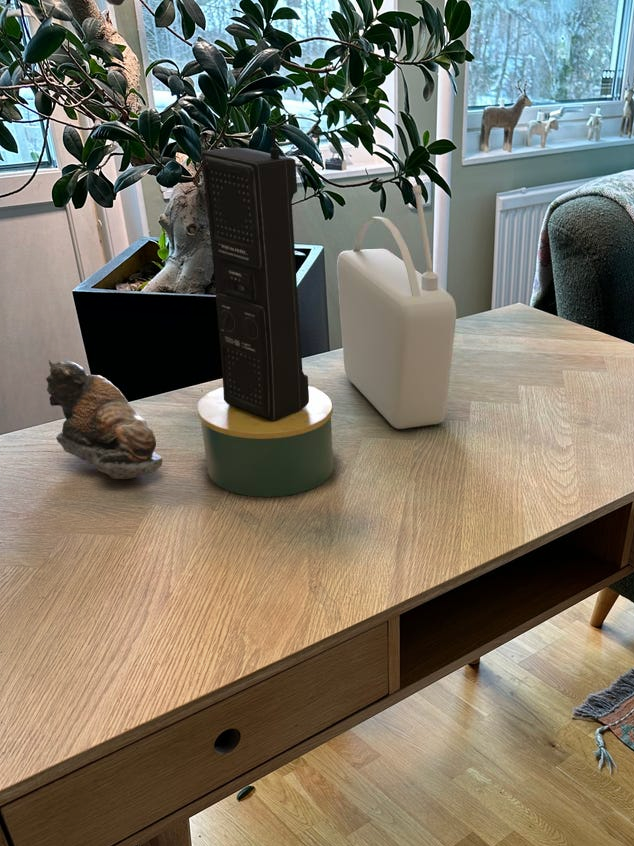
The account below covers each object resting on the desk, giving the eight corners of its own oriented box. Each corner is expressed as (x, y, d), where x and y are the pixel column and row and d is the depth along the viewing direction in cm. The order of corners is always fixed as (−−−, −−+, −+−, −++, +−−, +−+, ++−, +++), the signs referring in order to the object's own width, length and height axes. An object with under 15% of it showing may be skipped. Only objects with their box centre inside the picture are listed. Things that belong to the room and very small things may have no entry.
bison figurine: (178, 471, 92) (163, 377, 86) (125, 497, 87) (105, 399, 81) (98, 440, 96) (78, 349, 90) (43, 463, 91) (18, 368, 85)
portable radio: (213, 402, 89) (176, 117, 74) (257, 386, 93) (231, 112, 78) (269, 424, 86) (242, 131, 70) (312, 406, 90) (296, 125, 74)
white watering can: (465, 430, 104) (478, 198, 89) (400, 440, 101) (401, 201, 85) (395, 365, 119) (396, 158, 104) (337, 372, 116) (329, 159, 101)
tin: (179, 465, 93) (169, 402, 88) (280, 430, 101) (275, 370, 97) (260, 511, 86) (253, 445, 82) (361, 469, 94) (359, 407, 90)
